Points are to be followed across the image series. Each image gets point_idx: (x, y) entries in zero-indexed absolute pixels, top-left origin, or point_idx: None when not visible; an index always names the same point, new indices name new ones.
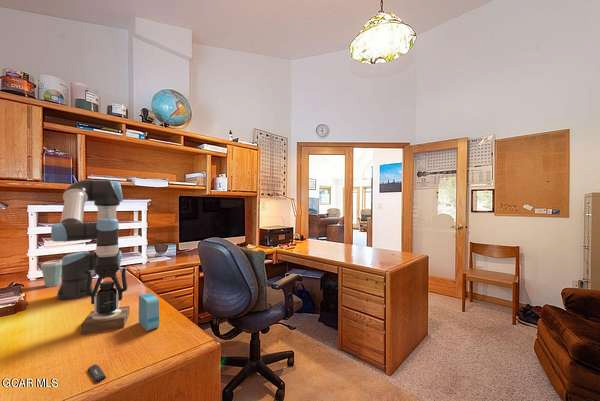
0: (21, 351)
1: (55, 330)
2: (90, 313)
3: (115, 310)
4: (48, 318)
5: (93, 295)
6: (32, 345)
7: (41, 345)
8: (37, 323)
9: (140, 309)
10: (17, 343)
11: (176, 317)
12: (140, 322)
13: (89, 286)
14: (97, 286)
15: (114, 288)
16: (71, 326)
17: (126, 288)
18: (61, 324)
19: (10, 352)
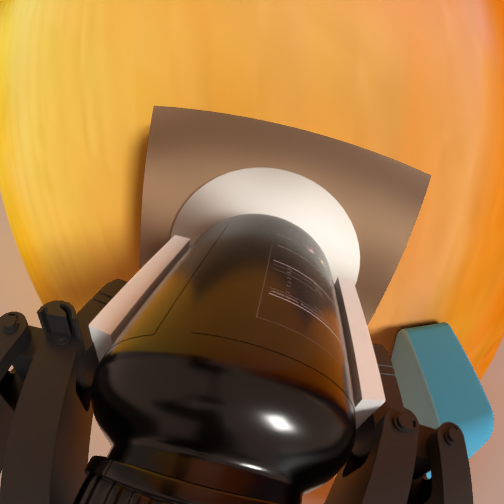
0: (50, 291)
1: (65, 164)
2: (152, 160)
3: (324, 236)
4: (48, 10)
5: (89, 388)
6: (54, 268)
7: (75, 288)
8: (25, 52)
9: (410, 403)
10: (19, 220)
11: (489, 348)
12: (395, 353)
13: (4, 447)
14: (78, 491)
15: (309, 491)
16: (106, 149)
17: (418, 478)
18: (73, 96)
19: (33, 276)
